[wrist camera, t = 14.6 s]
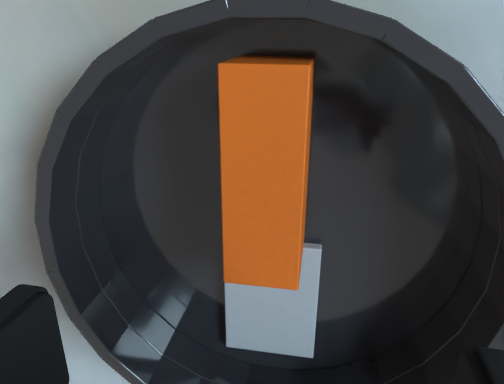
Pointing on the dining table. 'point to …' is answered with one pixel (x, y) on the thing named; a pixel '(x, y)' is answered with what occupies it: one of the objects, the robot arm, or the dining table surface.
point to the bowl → (317, 205)
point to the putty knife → (267, 203)
